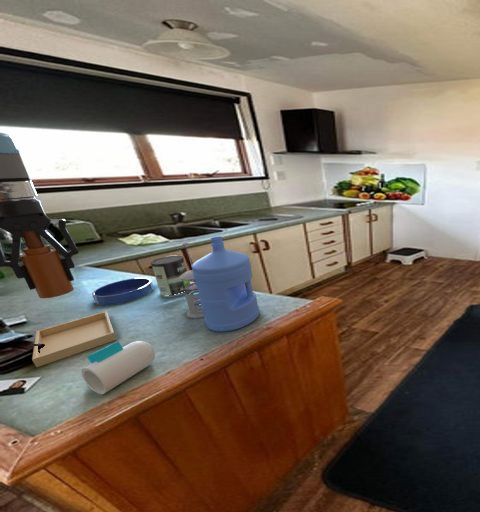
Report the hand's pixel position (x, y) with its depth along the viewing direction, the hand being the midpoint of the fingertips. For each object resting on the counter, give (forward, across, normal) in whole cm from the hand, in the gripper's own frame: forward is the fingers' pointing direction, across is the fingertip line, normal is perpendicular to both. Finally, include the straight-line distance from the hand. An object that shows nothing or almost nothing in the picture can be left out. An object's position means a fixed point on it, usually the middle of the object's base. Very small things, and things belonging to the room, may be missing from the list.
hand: (52, 283), depth 75 cm
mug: (+18, +7, -30) cm, 36 cm away
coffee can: (+18, +28, +15) cm, 37 cm away
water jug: (+18, +35, -25) cm, 47 cm away
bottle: (+3, 0, 0) cm, 3 cm away
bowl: (+18, +14, +27) cm, 36 cm away
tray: (+18, 0, 0) cm, 18 cm away
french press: (+18, +31, -10) cm, 37 cm away
